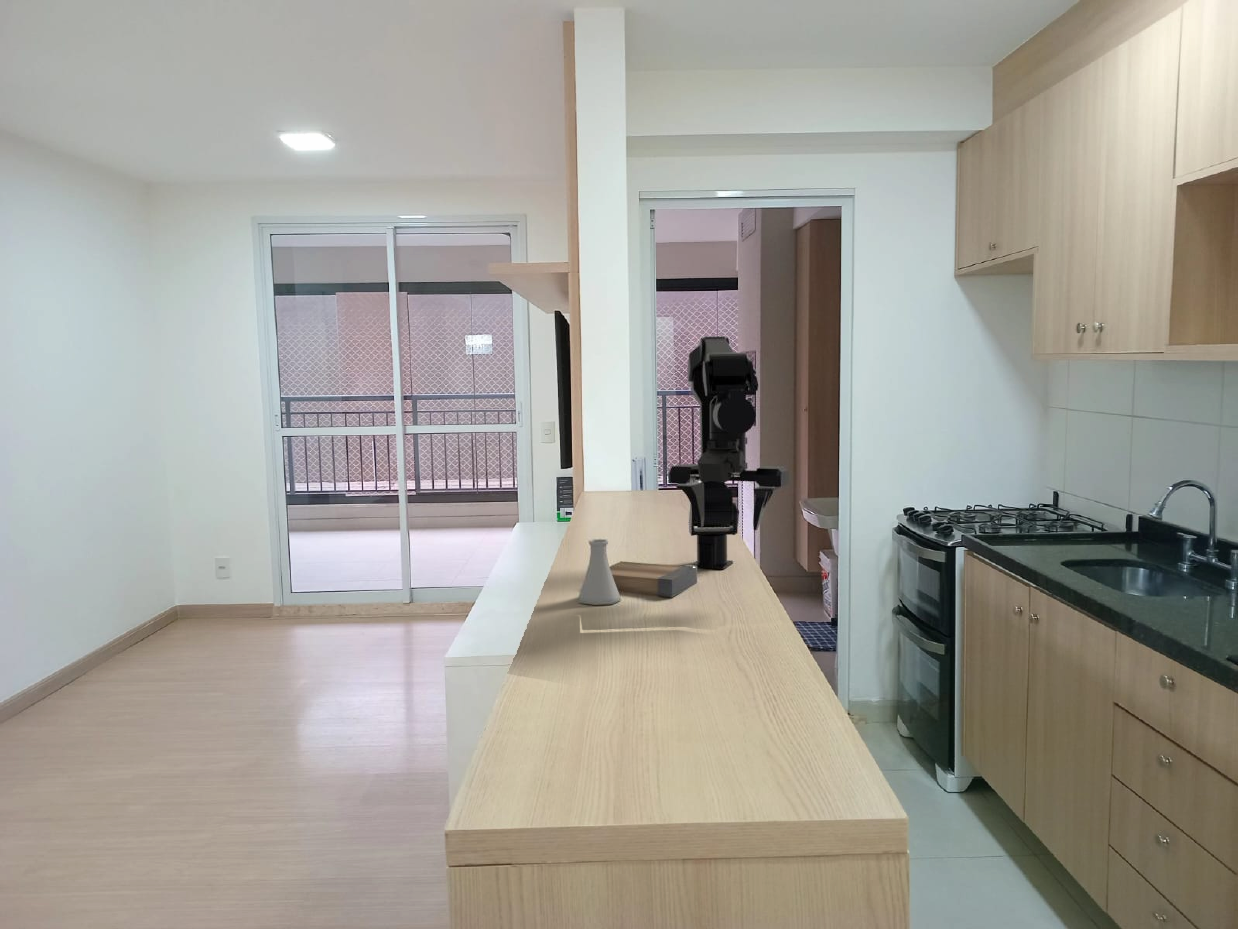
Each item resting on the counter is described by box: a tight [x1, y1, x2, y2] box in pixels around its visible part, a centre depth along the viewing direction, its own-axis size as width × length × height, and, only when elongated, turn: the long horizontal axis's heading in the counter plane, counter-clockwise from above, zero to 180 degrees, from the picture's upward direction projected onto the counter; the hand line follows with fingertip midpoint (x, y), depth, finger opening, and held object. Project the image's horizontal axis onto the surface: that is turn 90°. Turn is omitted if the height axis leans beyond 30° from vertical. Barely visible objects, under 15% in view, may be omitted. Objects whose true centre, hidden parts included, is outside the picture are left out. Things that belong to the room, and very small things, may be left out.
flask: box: [577, 538, 622, 606], centre depth 139 cm, size 7×7×10 cm
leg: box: [657, 564, 698, 599], centre depth 146 cm, size 12×2×3 cm, turn 153°
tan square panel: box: [609, 561, 683, 597], centre depth 149 cm, size 11×12×3 cm
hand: (728, 528), depth 139 cm, fingers open, 9 cm apart
